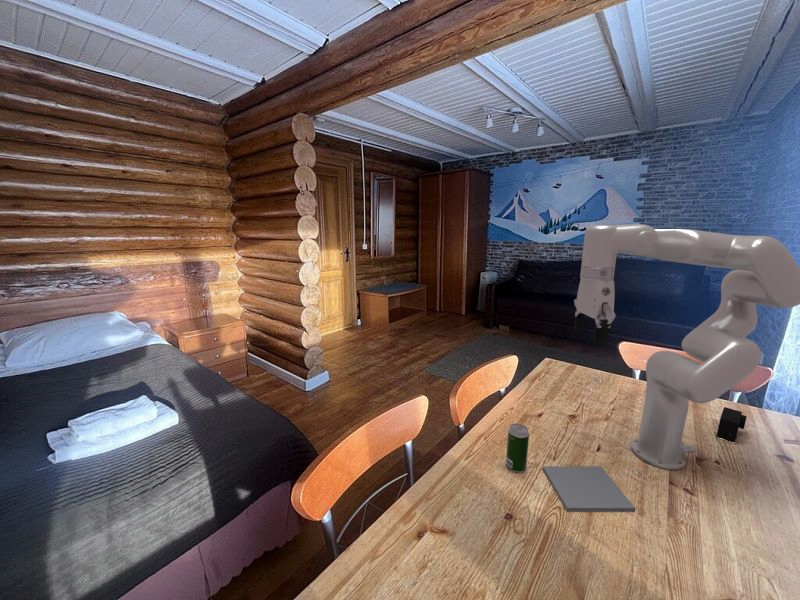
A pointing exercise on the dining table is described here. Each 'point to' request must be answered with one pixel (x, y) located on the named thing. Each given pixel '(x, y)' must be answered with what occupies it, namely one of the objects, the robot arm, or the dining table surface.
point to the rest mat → (587, 489)
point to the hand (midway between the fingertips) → (589, 336)
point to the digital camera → (730, 424)
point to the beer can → (517, 448)
